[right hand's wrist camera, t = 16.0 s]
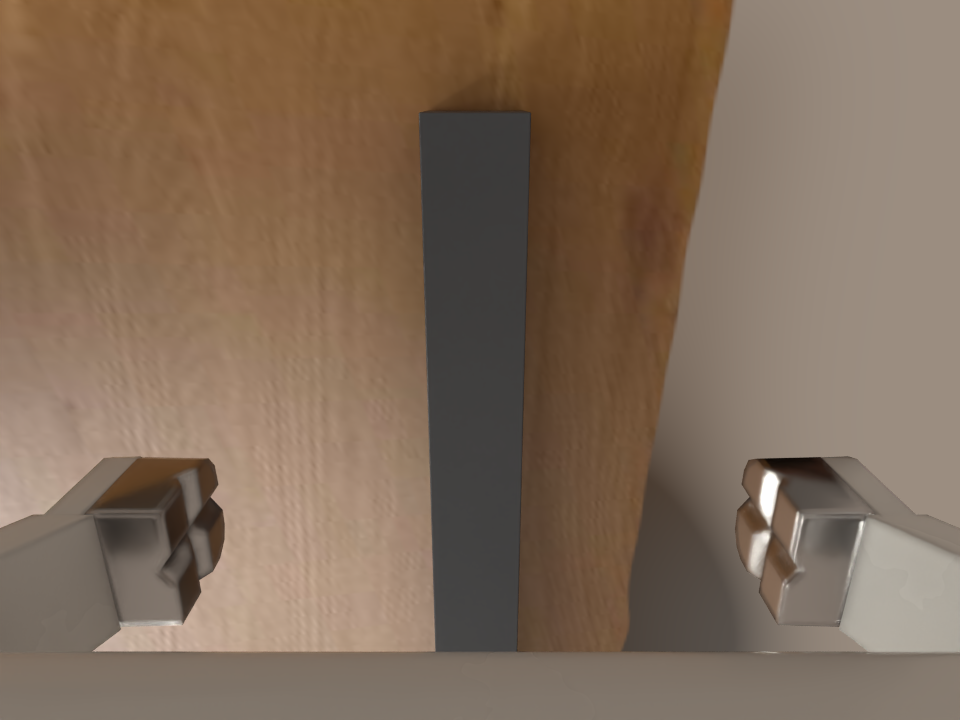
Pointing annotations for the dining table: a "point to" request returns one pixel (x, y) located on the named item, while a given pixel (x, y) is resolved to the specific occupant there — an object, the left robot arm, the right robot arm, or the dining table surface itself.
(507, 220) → the post
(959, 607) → the right robot arm
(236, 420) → the dining table surface
